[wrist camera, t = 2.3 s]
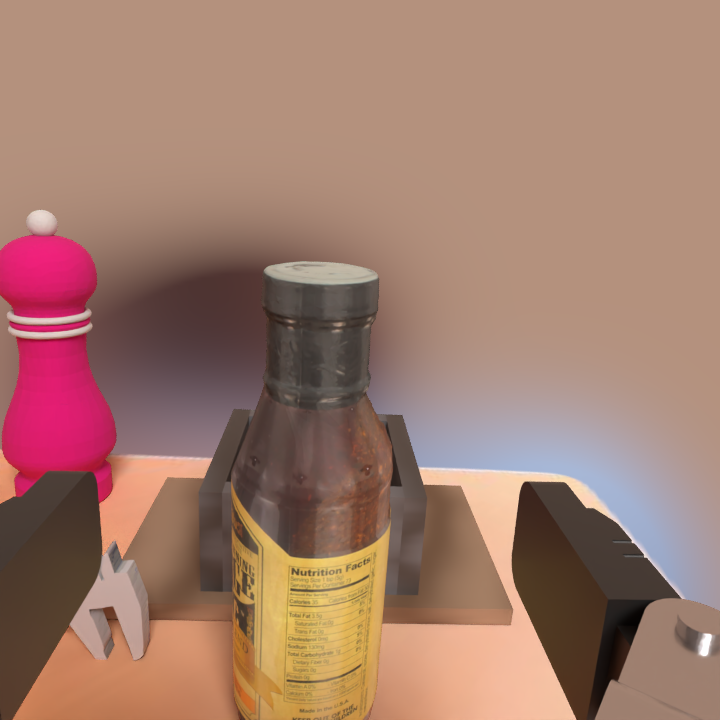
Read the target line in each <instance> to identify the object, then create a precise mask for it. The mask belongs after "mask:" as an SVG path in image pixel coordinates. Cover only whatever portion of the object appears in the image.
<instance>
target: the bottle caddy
mask: <svg viewBox="0 0 720 720" xmlns="http://www.w3.org/2000/svg"><path fill="white" fill-rule="evenodd" d="M254 412H255V410H242V409H234V410H233V413H232V415H231V417H230V419H229V422H228V424H227V427H226V429H225V431H224V434H223V436H222V438H221V441H220V443H219V445H218V448H217V450H216V452H215V455H214V457H213V459H212V462H211V464H210V466H209V469H208V471H207V473H206V476H205V478H204V479H201V478H167V479H166V481H165V483H164V485H163V487H162V488H161V490H160V492H159V494H158V496H157V497H156V499H155V501H154V503H153V505H152V506H151V508H150V510H149V512H148V514H147V515H146V517H145V519H144V521H143V523H142V525H141V526H140V528H139V530H138V532H137V534H136V535H135V537H134V539H133V541H132V543H131V544H130V546H129V548H128V550H127V552H126V554H125V555H124V557H123V559H122V561H125V560H134V561H135V563H136V566H137V568H138V571H139V573H140V576H141V579H142V581H143V584H144V586H145V589H146V592H147V594H148V610H149V619H155V620H221V621H233V615H232V554H231V550H232V510H231V473H232V469H233V466H234V464H235V462H236V459H237V456H238V454H239V451H240V449H241V446H242V444H243V441H244V438H245V436H246V433H247V431H248V428H249V425H250V423H251V420H252V418H253V415H254ZM377 415H378V417H379V420H380V421H381V422H383V423H384V425H385V428H386V431H387V434H388V437H389V439H390V441H391V444H392V463H393V465H392V466H393V472H392V478H391V483H390V497H389V498H390V500H389V502H390V507H391V513H390V518H391V525H390V537H389V549H388V561H387V572H386V584H385V596H384V608H383V619H382V623H419V624H485V625H511V620H512V613H513V608H512V606H511V603H510V601H509V599H508V596H507V594H506V592H505V589H504V587H503V585H502V582H501V580H500V577H499V575H498V573H497V570H496V568H495V566H494V563H493V561H492V559H491V556H490V554H489V551H488V549H487V547H486V544H485V542H484V540H483V537H482V535H481V533H480V530H479V528H478V525H477V523H476V521H475V518H474V516H473V514H472V511H471V509H470V507H469V504H468V502H467V500H466V497H465V495H464V492H463V490H462V488H461V486H447V485H423V482H422V479H421V476H420V472H419V469H418V466H417V463H416V459H415V456H414V452H413V449H412V446H411V442H410V439H409V436H408V433H407V429H406V426H405V423H404V419H403V416H402V415H384V414H383V415H382V414H377ZM102 609H103V612H104V614H105V617H106V619H118V617H117V615H116V612H115V610H114V607H113V606H110V607H105V608H102Z"/></svg>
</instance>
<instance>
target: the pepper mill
mask: <svg viewBox="0 0 720 720" xmlns="http://www.w3.org/2000/svg"><path fill="white" fill-rule="evenodd" d="M26 224H27V228H28V230H29V231H30V232H31V233H32V234H33V235H29V236H25V237H21V238H18V239H16V240H13V241H11V242H10V243H8V244H7V245H5V246H4V247H3V248H2V250H0V295H1V296H2V297H3V298H4V299H5V300H6V301H7V302H8V303H9V304H10V305H11V306H12V308H13V310H11V311H9V312H8V313H7V318H8V319H9V320H10V322H9V323H10V326H9V328H8V331H9V333H10V334H12V335H14V336H16V339H17V344H18V349H19V375H18V380H17V385H16V388H15V392H14V395H13V398H12V400H11V403H10V406H9V408H8V411H7V414H6V417H5V420H4V426H3V431H2V451H3V454H4V457H5V458H6V460H7V461H8V462H9V463H10V464H11V465H12V466H13V467H15V468H16V469H17V470H19V471H20V472H19V473H18V474H17V475H16V477H15V480H14V482H15V491H16V497H21V496H22V495H23V494H24V493H25V492H26V491H27V490H28V489H29V488H30V487H32V486H33V485H34V484H35V483H36V482H37V481H38V480H39V479H40V478H41V477H42V476H43V475H44V474H45V473H46V472H47V471H91V472H93V473H94V475H95V477H96V480H97V485H98V498H99V503H100V502H101V501H103V500H104V499H105V498H106V497H107V496H108V495H109V494H110V492H111V490H112V473H111V465H110V463H109V462H107V461H106V460H105V459H106V457H107V456H108V455H109V454H110V452H111V451H112V449H113V448H114V446H115V443H116V428H115V422H114V419H113V416H112V413H111V410H110V408H109V406H108V404H107V402H106V401H105V399H104V397H103V395H102V394H101V392H100V390H99V388H98V386H97V384H96V382H95V380H94V378H93V375H92V372H91V370H90V367H89V362H88V357H87V351H86V333H87V332H89V331H90V330H91V329H92V324H91V322H90V318H89V317H90V316H91V314H92V313H91V311H90V309H88V308H86V307H85V304H86V302H87V300H88V299H89V298H90V297H91V295H92V294H93V293H94V291H95V289H96V285H97V273H96V268H95V264H94V262H93V260H92V258H91V256H90V254H89V253H88V252H87V251H86V250H85V249H84V248H83V247H82V246H81V245H79V244H77V243H76V242H74V241H73V240H70V239H67V238H64V237H60V236H55V235H54V234H55V233H56V231H57V228H58V223H57V220H56V218H55V217H54V216H53V215H52V214H51V213H50V212H48V211H45V210H36V211H34V212H32V213H31V214H30V215H29V216H28V218H27V221H26Z"/></svg>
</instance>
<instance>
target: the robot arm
mask: <svg viewBox="0 0 720 720" xmlns="http://www.w3.org/2000/svg"><path fill="white" fill-rule="evenodd" d="M631 541H632V540H631V539H630V538H629V537H628V535H627V534H626V533H625V532H624V531H623V530H622V528H621V527H620V526H619V525H618V524H617V523H616V522H614V521H613V520H611V519H610V518H608V517H607V516H605V515H603V514H602V513H600V512H599V511H597V510H596V509H594V508H586V507H585V506H584V505H583V504H582V502H581V501H580V500H579V499H578V497H577V496H576V495H575V494H574V492H573V491H572V490H571V489H570V487H569V486H568V485H567V484H566V483H564V482H524V483H523V485H522V487H521V490H520V495H519V503H518V511H517V519H516V527H515V535H514V542H513V550H512V572H513V579H514V583H515V587H516V589H517V591H518V594H519V596H520V598H521V600H522V602H523V604H524V607H525V609H526V611H527V613H528V615H529V617H530V620H531V622H532V624H533V626H534V628H535V630H536V633H537V635H538V637H539V639H540V641H541V643H542V646H543V648H544V650H545V652H546V654H547V656H548V659H549V661H550V663H551V665H552V667H553V669H554V672H555V674H556V676H557V678H558V680H559V683H560V685H561V687H562V689H563V691H564V693H565V696H566V698H567V700H568V702H569V704H570V706H571V709H572V711H573V713H574V715H575V717H576V719H577V720H720V611H719V610H716V609H714V608H712V607H709V606H707V605H704V604H701V603H698V602H694V601H690V600H685V599H681V597H680V596H679V595H678V594H677V593H676V592H675V590H674V589H673V588H672V587H671V586H670V585H669V583H668V582H667V581H666V580H665V579H664V577H663V576H662V575H661V574H660V573H659V572H658V570H657V569H656V568H655V567H654V566H653V565H652V563H651V562H650V561H649V560H648V559H647V558H644V554H643V553H642V552H641V551H640V549H639V548H638V547H637V546H636V545H635V544H634V543H632V542H631ZM101 560H102V537H101V524H100V511H99V498H98V485H97V480H96V477H95V475H94V473H93V472H91V471H47V472H46V473H45V474H44V475H43V476H42V477H41V478H40V479H39V480H38V481H37V482H36V483H35V484H34V485H33V486H32V487H30V488H29V489H28V490H27V491H26V492H25V493H24V494H23V495H22V496H21V497H13V498H11V499H9V500H7V501H5V502H3V503H1V504H0V720H12V719H13V717H14V716H15V714H16V712H17V711H18V709H19V707H20V706H21V704H22V702H23V701H24V699H25V697H26V696H27V694H28V693H29V691H30V689H31V688H32V686H33V684H34V683H35V681H36V679H37V678H38V676H39V674H40V673H41V671H42V669H43V668H44V666H45V664H46V663H47V661H48V659H49V658H50V656H51V654H52V653H53V651H54V649H55V648H56V646H57V645H58V643H59V641H60V640H61V638H62V636H63V635H64V633H65V631H66V630H67V628H68V626H69V625H70V623H71V621H72V620H73V618H74V616H75V615H76V613H77V611H78V610H79V608H80V606H81V605H82V603H83V601H84V600H85V598H86V597H87V595H88V593H89V592H90V590H91V588H92V587H93V585H94V583H95V581H96V579H97V577H98V574H99V570H100V566H101Z"/></svg>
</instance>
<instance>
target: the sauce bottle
mask: <svg viewBox="0 0 720 720" xmlns="http://www.w3.org/2000/svg"><path fill="white" fill-rule="evenodd" d="M378 297H379V278H378V276H377V274H376V272H374V271H372V270H371V269H367V268H364V267H357V266H354V265H347V264H342V263H332V262H305V261H302V262H294V263H293V262H292V263H284V264H277V265H272V266H268V267H267V268H266V269H265V270H264V271H263V290H262V298H261V304H262V306H263V310H264V312H265V314H266V316H267V324H266V326H267V327H266V328H267V350H266V353H267V356H266V370H265V373H264V376H263V380H264V387H263V390H262V393H261V396H260V399H259V402H258V405H257V407H256V410H255V412H254V415H253V418H252V420H251V423H250V425H249V428H248V431H247V433H246V436H245V438H244V441H243V444H242V446H241V449H240V451H239V454H238V456H237V459H236V462H235V464H234V466H233V469H232V473H231V510H232V550H231V554H232V615H233V689H234V698H235V702H236V705H237V707H238V714H239V718H240V720H368V719H369V717H370V713H371V710H372V706H373V702H374V698H375V694H376V689H377V677H378V663H379V653H380V642H381V631H382V619H383V608H384V596H385V584H386V572H387V561H388V549H389V537H390V525H391V518H390V513H391V507H390V502H389V500H390V498H389V497H390V483H391V478H392V472H393V466H392V465H393V463H392V444H391V441H390V439H389V437H388V434H387V431H386V428H385V425H384V423H383V422H381V421H380V420H379V417H378V415H377V414H376V413H375V411H374V409H373V407H372V403H371V402H370V400H369V398H368V396H367V394H366V391H367V390H368V387H369V384H370V378H371V377H370V373H369V371H368V365H369V350H370V349H369V348H370V334H371V325H372V324H373V322H374V320H375V319H376V313H377V311H378Z"/></svg>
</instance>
